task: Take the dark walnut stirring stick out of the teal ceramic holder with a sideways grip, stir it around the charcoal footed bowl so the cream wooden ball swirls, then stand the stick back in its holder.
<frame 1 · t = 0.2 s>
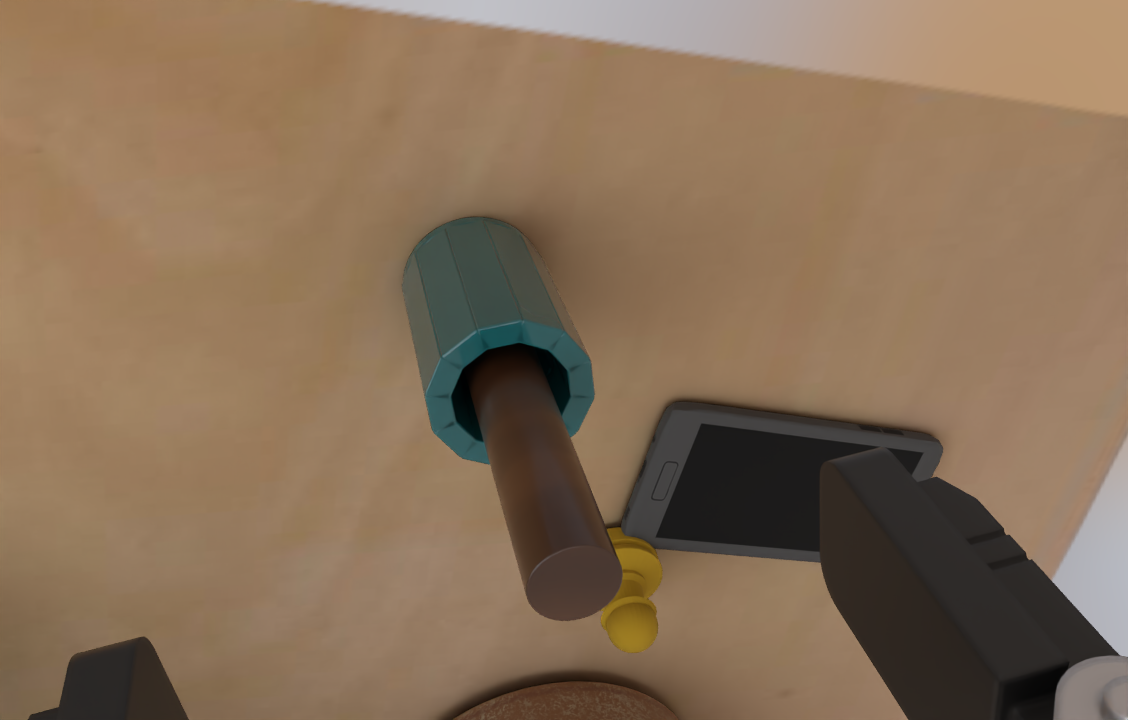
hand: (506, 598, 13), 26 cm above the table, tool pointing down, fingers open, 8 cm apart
holder: (473, 281, 39), on the table
chess piece: (611, 555, 48), on the table, touching cell phone
cell phone: (778, 481, 48), on the table, touching chess piece
stick: (475, 287, 39), resting on holder
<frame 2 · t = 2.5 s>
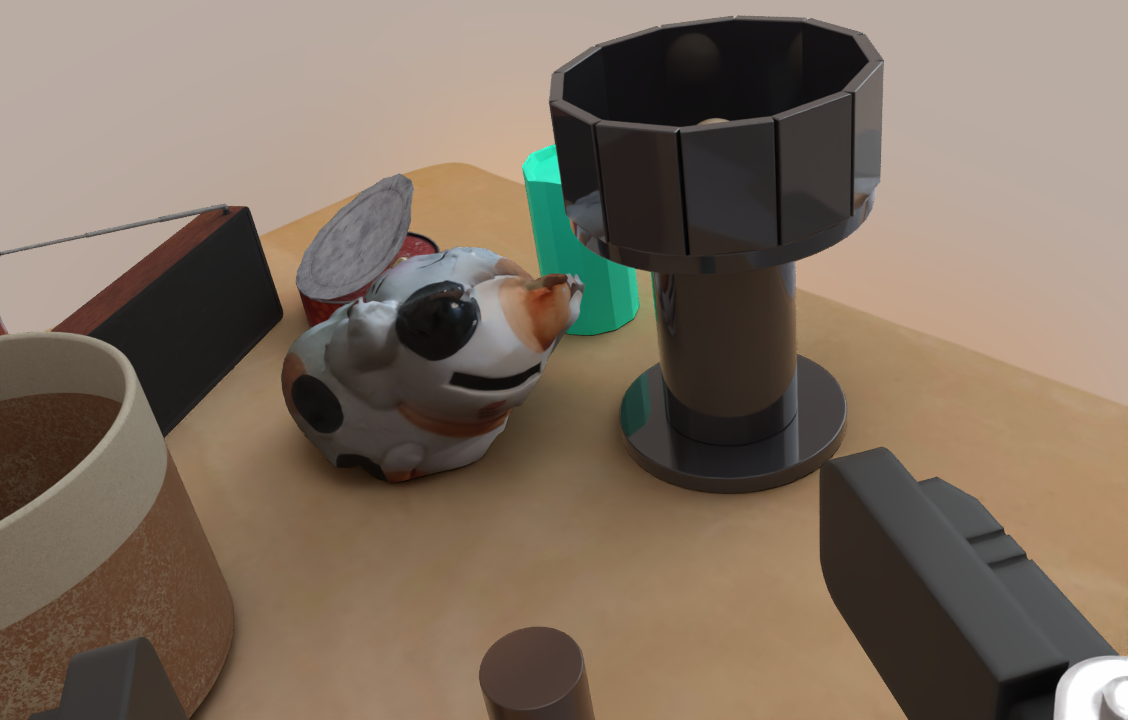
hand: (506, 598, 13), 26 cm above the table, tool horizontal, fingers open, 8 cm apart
lucky cat figurine: (451, 420, 61), on the table
canned food: (378, 305, 74), on the table
planter: (66, 684, 48), on the table
candle: (593, 313, 69), on the table
bowl: (731, 420, 57), on the table
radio: (188, 394, 68), on the table
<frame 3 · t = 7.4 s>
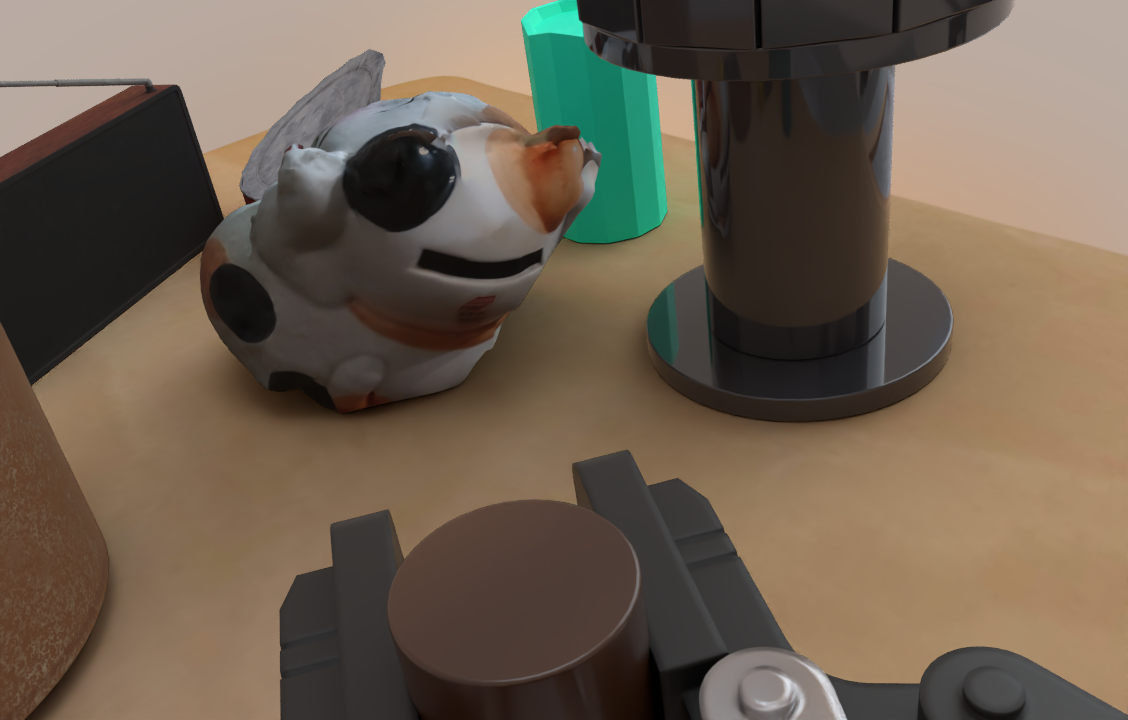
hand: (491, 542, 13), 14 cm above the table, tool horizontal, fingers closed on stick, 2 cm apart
lucky cat figurine: (426, 340, 47), on the table
canned food: (343, 217, 60), on the table
candle: (609, 220, 55), on the table
bowl: (795, 334, 43), on the table
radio: (98, 315, 54), on the table
when the fingers open (14 cm above the table, at t = 28.7 s): stick stays where it is, resting on holder.
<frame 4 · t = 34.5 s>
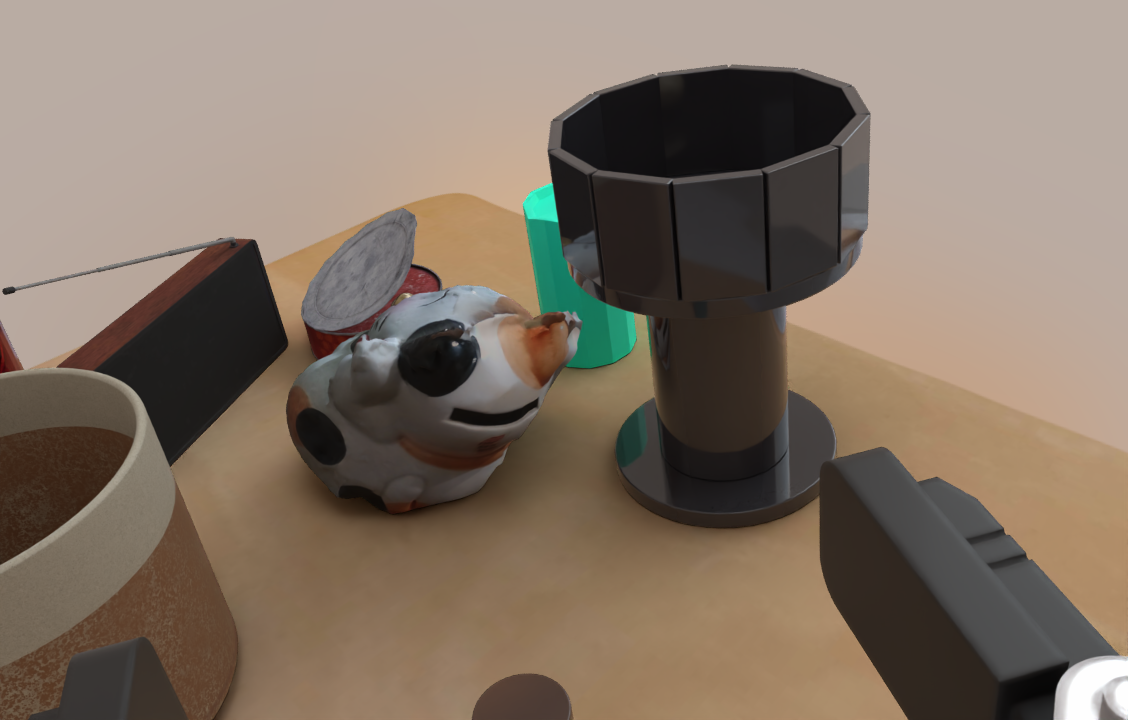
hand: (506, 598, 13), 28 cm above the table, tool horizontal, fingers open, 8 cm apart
lucky cat figurine: (451, 451, 63), on the table
canned food: (381, 335, 75), on the table
planter: (73, 709, 50), on the table
candle: (591, 346, 71), on the table
bowl: (724, 454, 59), on the table
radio: (195, 422, 69), on the table
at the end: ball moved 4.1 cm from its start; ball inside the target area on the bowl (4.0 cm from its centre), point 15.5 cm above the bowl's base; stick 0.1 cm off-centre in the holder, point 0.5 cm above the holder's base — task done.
